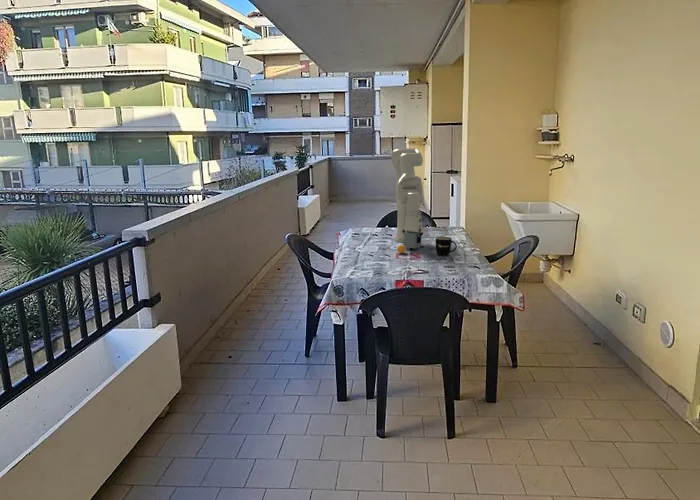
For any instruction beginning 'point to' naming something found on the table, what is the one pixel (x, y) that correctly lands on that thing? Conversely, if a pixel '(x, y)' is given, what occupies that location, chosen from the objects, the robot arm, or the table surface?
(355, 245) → the table surface
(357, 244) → the table surface
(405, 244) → the grey rounded box
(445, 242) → the mug
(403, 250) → the ball
